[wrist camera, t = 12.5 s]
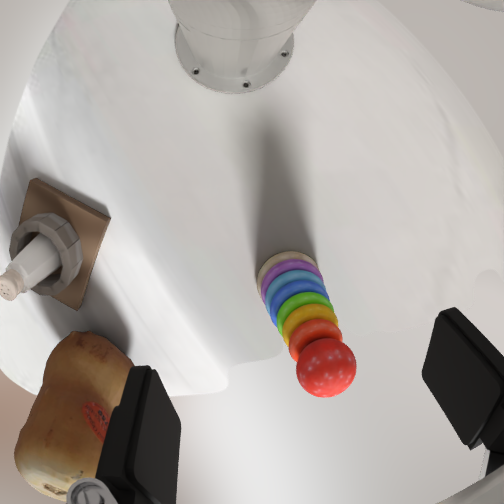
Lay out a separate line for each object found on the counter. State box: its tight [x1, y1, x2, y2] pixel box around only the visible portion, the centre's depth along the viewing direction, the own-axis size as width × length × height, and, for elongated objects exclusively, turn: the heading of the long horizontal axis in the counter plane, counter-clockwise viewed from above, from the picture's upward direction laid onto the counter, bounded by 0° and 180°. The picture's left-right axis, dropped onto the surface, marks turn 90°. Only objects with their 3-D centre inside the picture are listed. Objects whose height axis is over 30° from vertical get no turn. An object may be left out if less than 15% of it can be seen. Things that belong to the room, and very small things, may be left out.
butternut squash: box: [14, 331, 134, 502], centre depth 30 cm, size 14×13×25 cm
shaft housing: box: [9, 178, 111, 311], centre depth 32 cm, size 14×12×5 cm
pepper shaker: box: [0, 233, 62, 301], centre depth 28 cm, size 5×5×11 cm
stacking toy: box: [257, 251, 356, 397], centre depth 30 cm, size 8×8×19 cm
